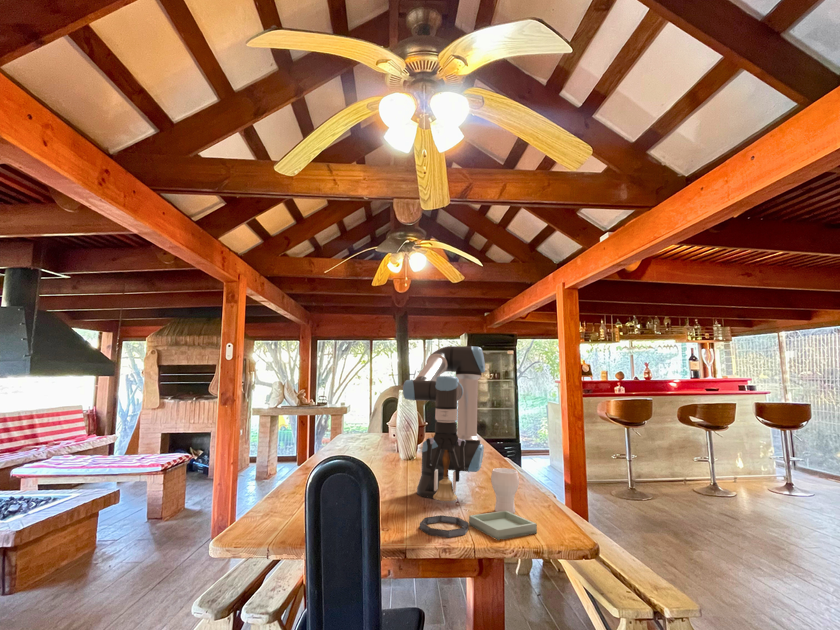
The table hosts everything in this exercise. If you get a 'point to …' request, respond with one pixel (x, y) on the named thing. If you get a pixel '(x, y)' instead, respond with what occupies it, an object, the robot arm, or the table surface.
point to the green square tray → (502, 524)
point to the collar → (444, 532)
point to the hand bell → (445, 483)
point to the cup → (505, 488)
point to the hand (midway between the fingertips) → (445, 490)
